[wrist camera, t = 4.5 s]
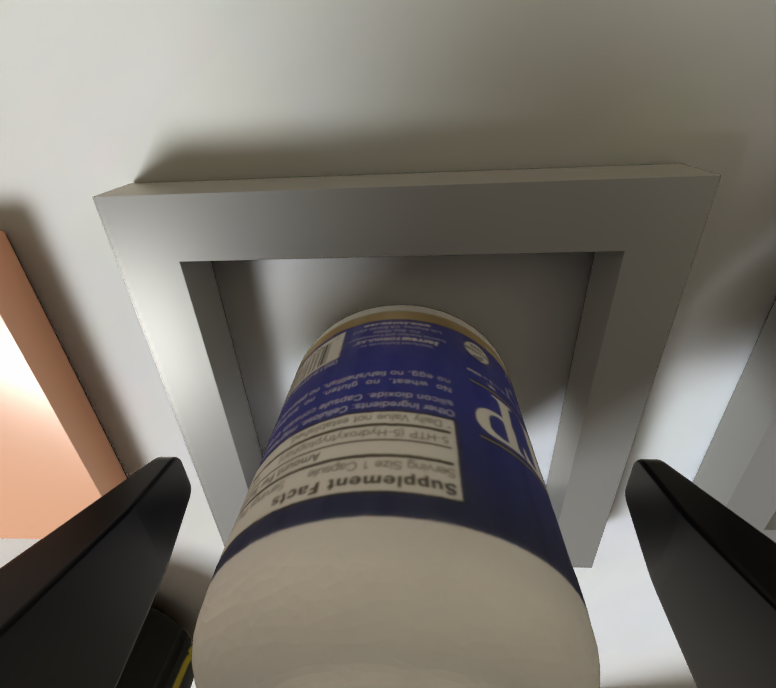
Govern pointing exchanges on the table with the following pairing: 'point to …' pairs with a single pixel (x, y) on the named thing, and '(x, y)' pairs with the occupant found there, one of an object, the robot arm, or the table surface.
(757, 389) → the grey square frame
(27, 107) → the table surface
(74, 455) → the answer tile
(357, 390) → the pill bottle
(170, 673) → the tape measure
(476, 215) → the grey picture frame
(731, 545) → the robot arm
